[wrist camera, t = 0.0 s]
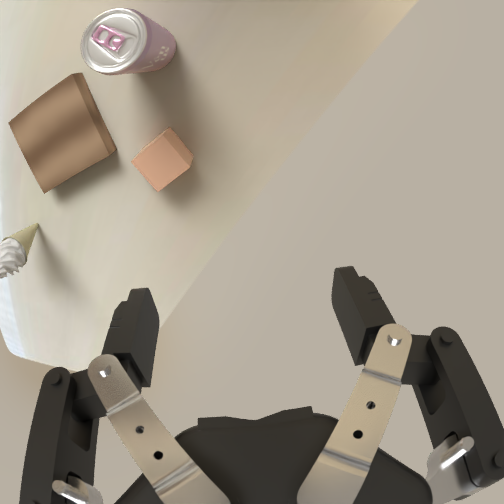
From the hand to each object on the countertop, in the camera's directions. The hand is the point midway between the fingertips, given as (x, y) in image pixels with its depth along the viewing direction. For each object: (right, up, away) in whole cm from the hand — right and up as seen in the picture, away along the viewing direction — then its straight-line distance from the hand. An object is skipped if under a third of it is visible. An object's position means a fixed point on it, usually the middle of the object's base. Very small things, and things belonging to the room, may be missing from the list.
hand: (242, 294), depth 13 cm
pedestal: (-25, +18, +21) cm, 37 cm away
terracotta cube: (-11, +15, +25) cm, 31 cm away
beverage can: (-12, +26, +17) cm, 33 cm away
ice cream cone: (-34, +6, +28) cm, 44 cm away
